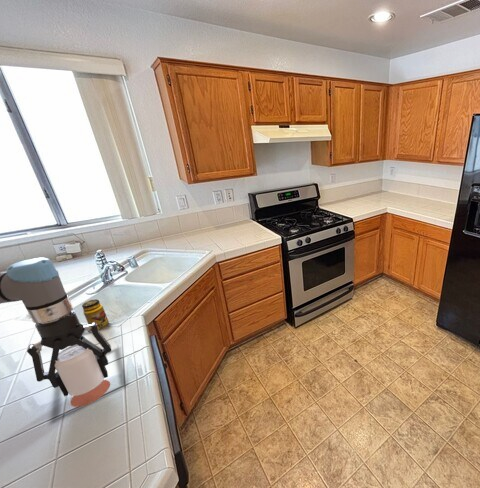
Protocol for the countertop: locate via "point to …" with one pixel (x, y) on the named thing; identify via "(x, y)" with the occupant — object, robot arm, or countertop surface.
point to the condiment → (95, 313)
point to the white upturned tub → (78, 370)
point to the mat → (90, 395)
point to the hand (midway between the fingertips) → (86, 383)
